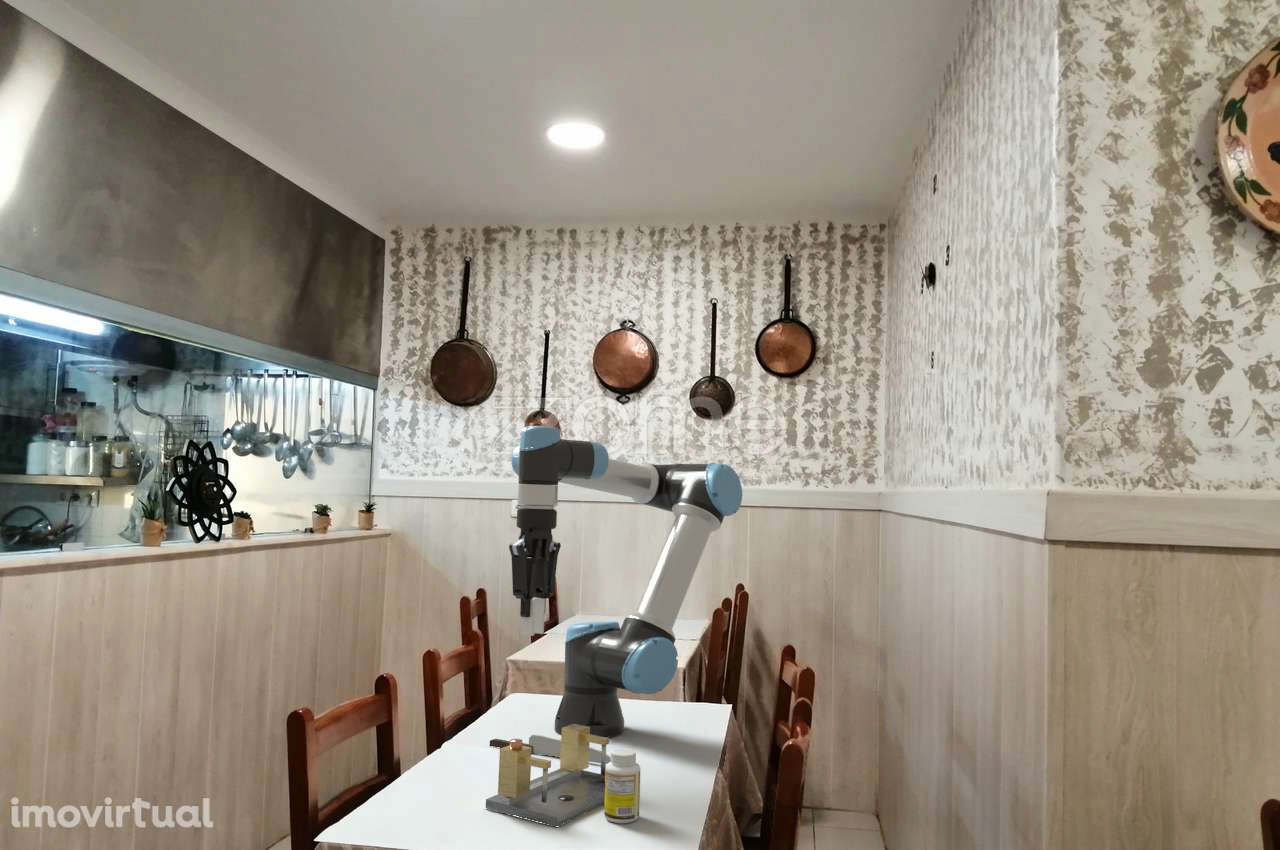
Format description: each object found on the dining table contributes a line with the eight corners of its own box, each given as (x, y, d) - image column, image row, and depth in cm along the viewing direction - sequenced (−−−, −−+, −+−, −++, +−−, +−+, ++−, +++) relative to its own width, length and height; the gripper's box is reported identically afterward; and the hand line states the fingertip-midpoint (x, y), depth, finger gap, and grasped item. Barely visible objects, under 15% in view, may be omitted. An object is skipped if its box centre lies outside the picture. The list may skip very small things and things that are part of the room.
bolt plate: (565, 774, 161) (565, 760, 161) (631, 789, 153) (631, 774, 154) (485, 809, 142) (486, 792, 142) (556, 827, 135) (557, 810, 135)
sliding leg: (512, 789, 144) (514, 736, 145) (554, 799, 140) (556, 744, 141) (497, 795, 141) (500, 741, 142) (540, 805, 137) (542, 749, 137)
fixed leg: (571, 764, 159) (573, 723, 159) (611, 773, 154) (612, 731, 155) (560, 769, 156) (561, 727, 156) (600, 778, 151) (601, 735, 152)
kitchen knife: (490, 729, 178) (623, 747, 165) (493, 728, 179) (626, 746, 166) (489, 751, 177) (623, 771, 164) (492, 750, 178) (625, 770, 165)
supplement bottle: (619, 809, 143) (622, 744, 144) (646, 818, 140) (648, 751, 141) (596, 818, 139) (598, 751, 140) (623, 827, 136) (625, 758, 136)
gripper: (545, 507, 176) (540, 627, 174) (495, 506, 163) (489, 636, 161) (576, 508, 173) (571, 631, 171) (528, 507, 159) (522, 640, 157)
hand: (532, 633), depth 166 cm, fingers open, 2 cm apart
